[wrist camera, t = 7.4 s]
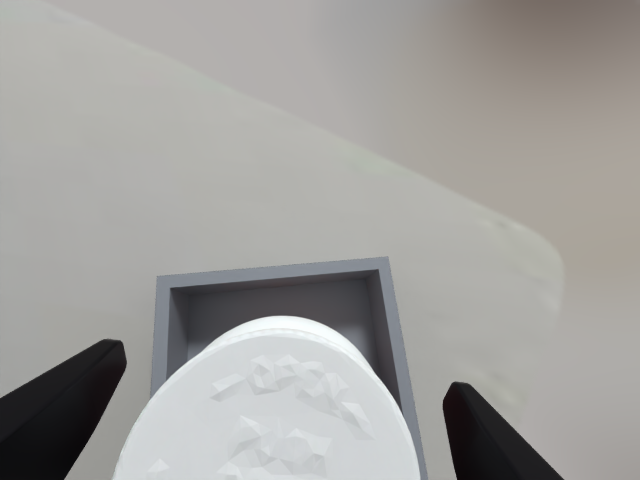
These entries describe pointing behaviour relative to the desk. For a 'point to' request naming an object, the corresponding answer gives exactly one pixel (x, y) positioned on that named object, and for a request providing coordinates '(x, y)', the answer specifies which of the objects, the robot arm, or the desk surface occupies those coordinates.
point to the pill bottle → (272, 412)
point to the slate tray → (288, 300)
